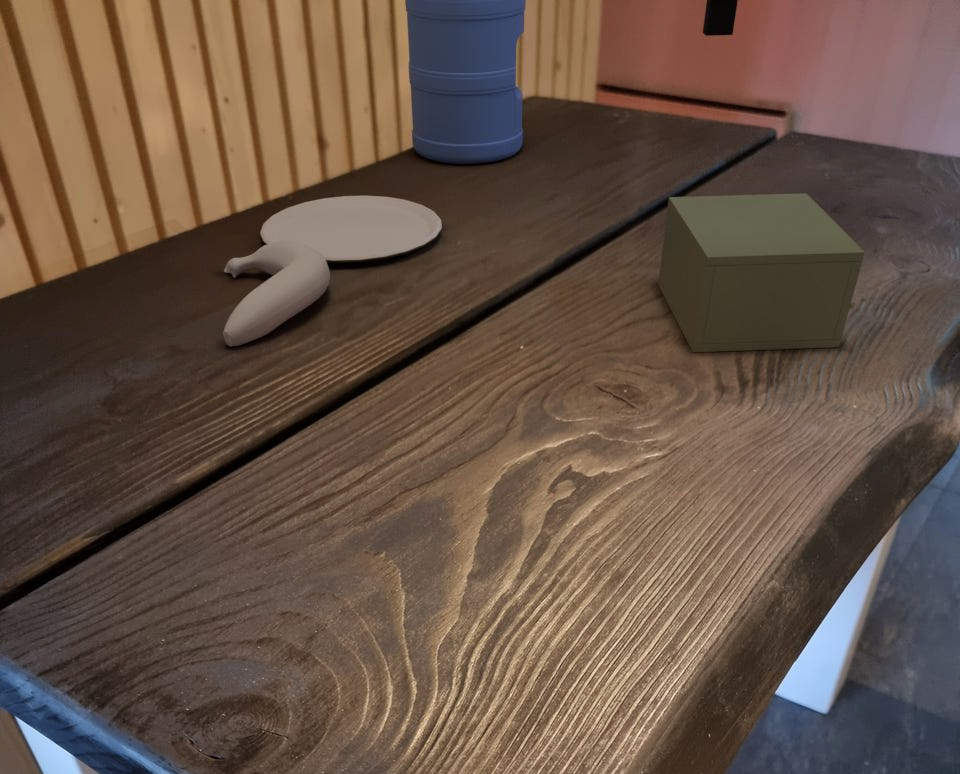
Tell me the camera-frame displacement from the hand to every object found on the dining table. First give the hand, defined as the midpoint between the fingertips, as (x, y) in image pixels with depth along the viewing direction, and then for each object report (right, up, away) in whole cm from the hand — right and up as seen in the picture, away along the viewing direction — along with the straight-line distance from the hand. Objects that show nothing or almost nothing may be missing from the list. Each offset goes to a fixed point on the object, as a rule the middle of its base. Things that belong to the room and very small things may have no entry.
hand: (717, 33), depth 94 cm
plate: (-39, -15, +13) cm, 44 cm away
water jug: (-26, +8, +38) cm, 47 cm away
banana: (-47, -28, -1) cm, 55 cm away
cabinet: (+2, -30, -4) cm, 30 cm away
